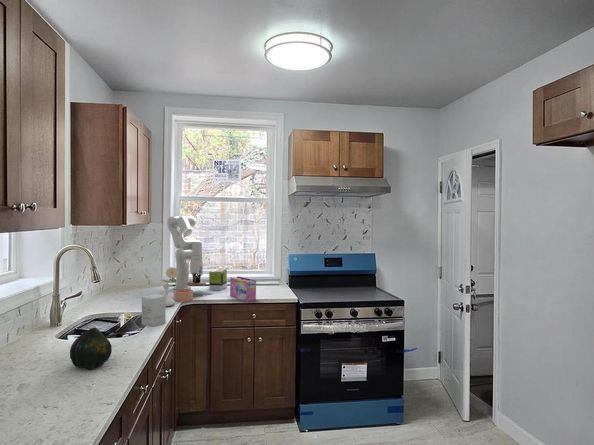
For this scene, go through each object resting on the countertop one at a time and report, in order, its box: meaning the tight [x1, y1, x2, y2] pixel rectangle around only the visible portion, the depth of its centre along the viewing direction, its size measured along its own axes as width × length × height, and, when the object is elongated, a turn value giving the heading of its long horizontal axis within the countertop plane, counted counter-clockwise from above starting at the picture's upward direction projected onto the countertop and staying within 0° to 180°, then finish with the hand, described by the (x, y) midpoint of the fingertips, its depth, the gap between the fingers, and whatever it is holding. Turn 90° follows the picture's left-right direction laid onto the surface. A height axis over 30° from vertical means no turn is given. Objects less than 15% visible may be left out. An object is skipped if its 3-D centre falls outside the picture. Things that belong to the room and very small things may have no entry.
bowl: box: [173, 288, 194, 302], centre depth 283 cm, size 12×12×6 cm
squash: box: [69, 327, 113, 370], centre depth 161 cm, size 14×15×15 cm
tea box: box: [208, 268, 228, 291], centre depth 326 cm, size 15×10×15 cm, turn 172°
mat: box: [193, 290, 213, 298], centre depth 302 cm, size 17×17×1 cm
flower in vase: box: [162, 266, 178, 307], centre depth 264 cm, size 13×11×25 cm
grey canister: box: [141, 294, 166, 328], centre depth 221 cm, size 9×9×15 cm
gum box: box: [229, 276, 257, 302], centre depth 293 cm, size 24×8×14 cm, turn 41°
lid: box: [187, 275, 207, 287], centre depth 302 cm, size 14×14×6 cm
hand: (196, 282), depth 302 cm, fingers closed on lid, 3 cm apart
